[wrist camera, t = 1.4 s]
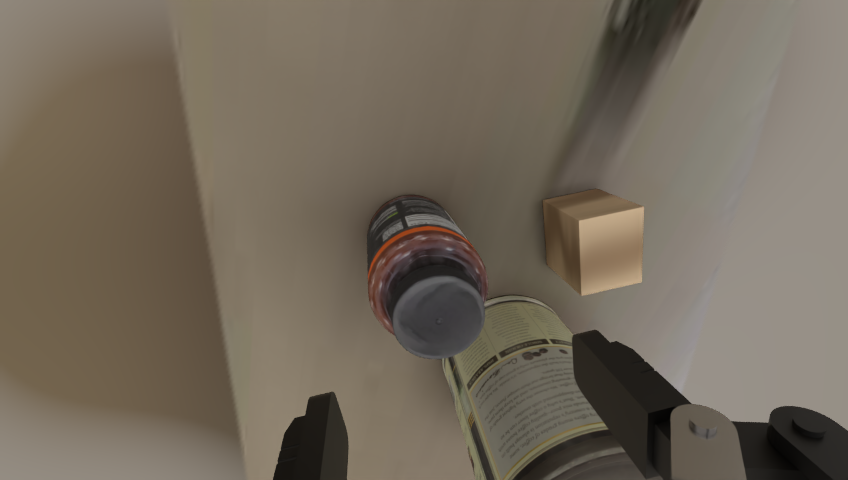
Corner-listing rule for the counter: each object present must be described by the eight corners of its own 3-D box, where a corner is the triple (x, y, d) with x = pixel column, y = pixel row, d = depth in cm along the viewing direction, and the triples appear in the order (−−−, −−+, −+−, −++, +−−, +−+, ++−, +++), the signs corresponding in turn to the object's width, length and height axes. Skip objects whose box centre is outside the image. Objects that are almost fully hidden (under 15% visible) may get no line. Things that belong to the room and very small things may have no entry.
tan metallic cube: (542, 200, 27) (578, 220, 22) (596, 188, 27) (644, 206, 23) (547, 264, 29) (581, 295, 24) (597, 252, 29) (641, 282, 24)
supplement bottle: (429, 286, 28) (466, 397, 18) (352, 255, 27) (342, 357, 16) (468, 214, 27) (534, 288, 16) (389, 177, 25) (405, 232, 15)
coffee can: (589, 346, 32) (743, 517, 19) (495, 422, 33) (577, 630, 20) (514, 266, 29) (640, 408, 15) (413, 355, 30) (449, 554, 17)
